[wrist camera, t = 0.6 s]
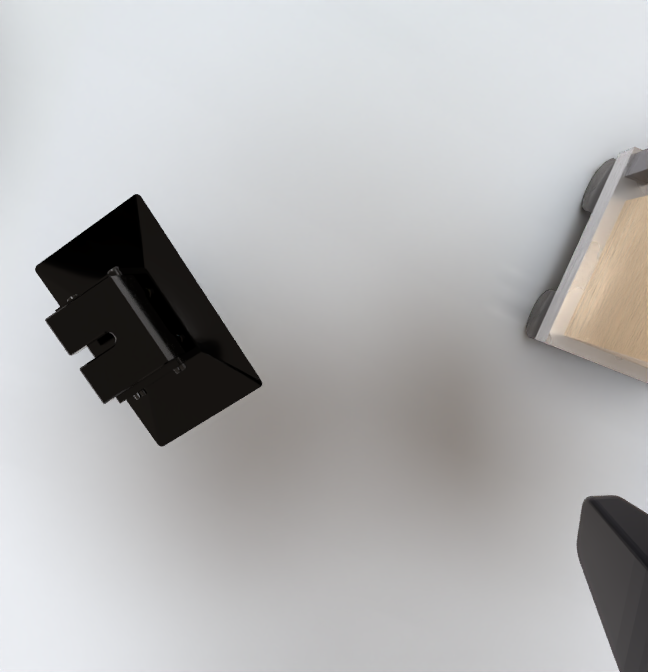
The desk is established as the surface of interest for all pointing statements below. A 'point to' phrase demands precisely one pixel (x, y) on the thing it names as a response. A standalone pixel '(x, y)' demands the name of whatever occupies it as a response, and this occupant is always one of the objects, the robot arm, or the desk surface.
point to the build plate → (144, 324)
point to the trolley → (605, 275)
